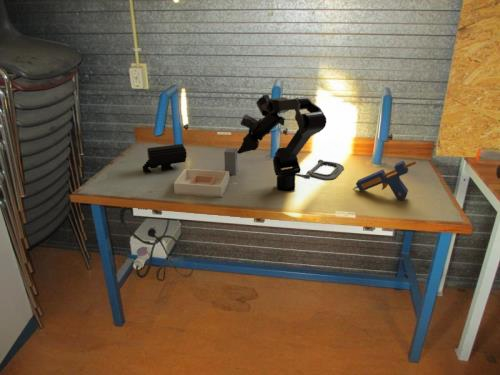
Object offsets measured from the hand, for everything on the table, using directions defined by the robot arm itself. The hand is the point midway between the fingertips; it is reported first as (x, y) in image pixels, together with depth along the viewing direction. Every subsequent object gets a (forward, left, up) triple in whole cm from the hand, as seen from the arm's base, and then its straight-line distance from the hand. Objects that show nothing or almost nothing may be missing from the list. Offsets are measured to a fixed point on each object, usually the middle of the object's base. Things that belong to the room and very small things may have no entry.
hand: (240, 148), depth 162 cm
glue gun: (-55, +12, -11) cm, 57 cm away
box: (+12, +16, -11) cm, 23 cm away
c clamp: (-33, -7, -11) cm, 36 cm away
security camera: (+32, +2, -11) cm, 34 cm away
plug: (+4, 0, -11) cm, 11 cm away
